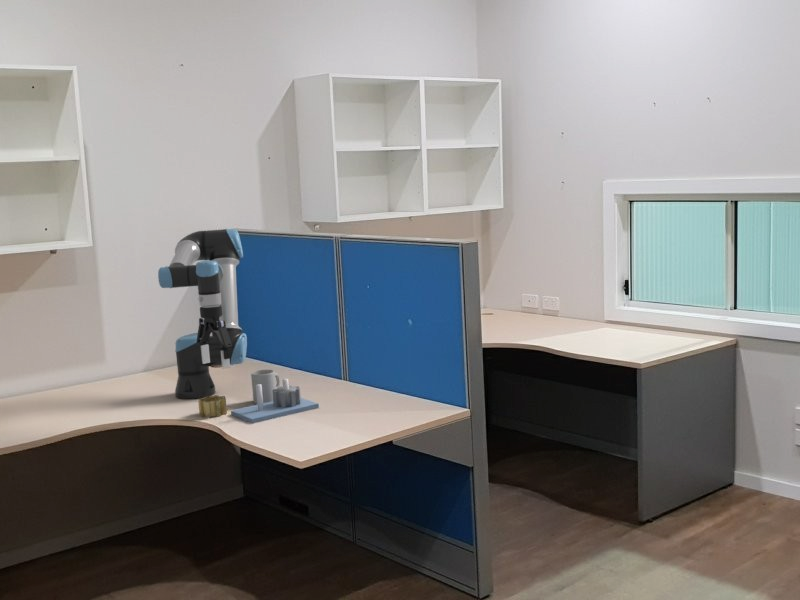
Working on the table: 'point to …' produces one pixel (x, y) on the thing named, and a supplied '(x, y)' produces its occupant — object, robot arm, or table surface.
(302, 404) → the gear board
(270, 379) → the mug
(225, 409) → the brass gear
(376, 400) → the table surface
